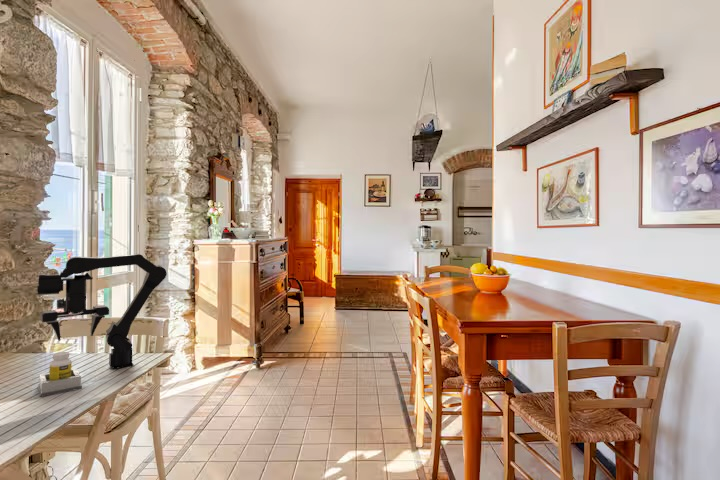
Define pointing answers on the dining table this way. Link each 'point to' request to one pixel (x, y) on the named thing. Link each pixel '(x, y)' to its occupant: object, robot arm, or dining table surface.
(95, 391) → the dining table surface
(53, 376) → the supplement bottle
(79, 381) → the socket collar
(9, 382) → the dining table surface
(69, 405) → the dining table surface
